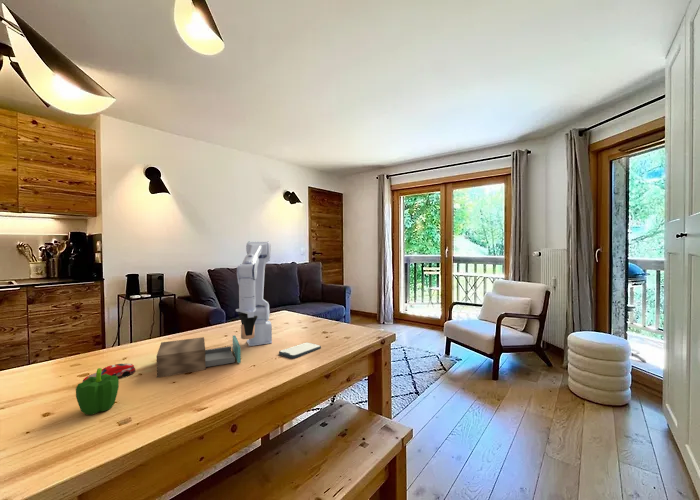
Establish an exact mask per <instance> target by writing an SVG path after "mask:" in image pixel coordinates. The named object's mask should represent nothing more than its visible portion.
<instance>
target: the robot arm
mask: <svg viewBox="0 0 700 500" xmlns="http://www.w3.org/2000/svg"><path fill="white" fill-rule="evenodd" d="M271 246H272V245H271V242H270V241H247V243H246V247H245V251H246V254H247V255H245V256H244V258H243V261H242V263H241V264H239V265H237V267H236V278H237V284H238V301H239V302H238V307H239V308H236V309H235V312H237V314H238V317H239V319H240V322H241V325H242V324H244V329H245V334H246V336H249V335H252V333H253V328H254V324H255V337H254V338H252V339H246V343H247V344H248V347H253V346H260V345H266V344H267V345H268V344H272V343H273V337H272V336H273V333H272V330H273V328H272V322H271V320H270V313H271V311H270V304H269V301H267V300H266V299H264V289H265V288H264V287H265V274H266V272H265V270H266V264H267V263H268V262H270V260H271V249H272V248H271Z"/></svg>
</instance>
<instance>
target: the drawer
mask: <svg viewBox="0 0 700 500" xmlns="http://www.w3.org/2000/svg"><path fill="white" fill-rule="evenodd" d="M238 340H239V339H238V338H237V336H236V335H232V346H224V347H223V346H222V347H217V348H211V349H205V368H208V367H214V366H222V365H227V364H234V363H235V362H237V364H241V362H242V361H241V360H242V356H241V355H242V354H241V353H242V352H241V350H242V349H241V344H240V343H239V341H238ZM235 360H236V361H235Z"/></svg>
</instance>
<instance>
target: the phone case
mask: <svg viewBox="0 0 700 500" xmlns="http://www.w3.org/2000/svg"><path fill="white" fill-rule="evenodd" d="M321 349H322V345H320V344H316V343H312V342H304V343H303V342H302V343H299V344H298V345H294V346H291V347H288V348H284V349H281V350H279V351H278V355H279V356H281V357H285V358H288V359H291V360H293V359H294V360H295V359H298V358H300V357H302V356H303V357H304V356H305V355H308V354H311V353H313V352H316V351H318V350H321Z"/></svg>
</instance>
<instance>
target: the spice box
mask: <svg viewBox="0 0 700 500" xmlns="http://www.w3.org/2000/svg"><path fill="white" fill-rule="evenodd" d="M205 350H206V344H205V337H204V336H202V337H195V338H187V339H180V340H179V339H178V340H177V339H176V340H170V341H161V343H160V346H159V347H158V351H157V353H156V358H155V359H156V378H163V377H169V376H174V375H181V374H186V373H192V372H198V371H205V370H206V367H205Z"/></svg>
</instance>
